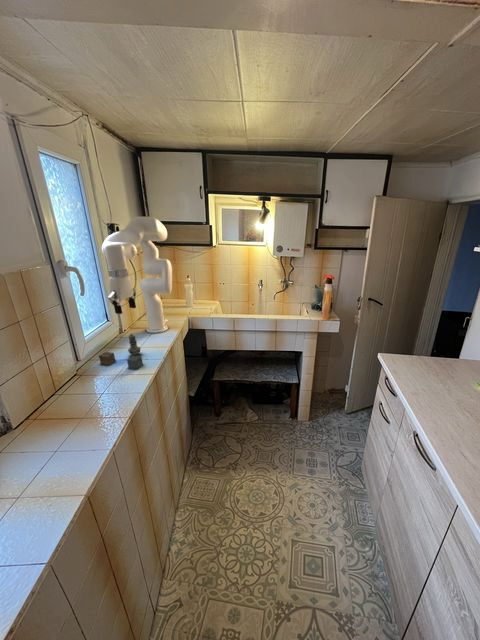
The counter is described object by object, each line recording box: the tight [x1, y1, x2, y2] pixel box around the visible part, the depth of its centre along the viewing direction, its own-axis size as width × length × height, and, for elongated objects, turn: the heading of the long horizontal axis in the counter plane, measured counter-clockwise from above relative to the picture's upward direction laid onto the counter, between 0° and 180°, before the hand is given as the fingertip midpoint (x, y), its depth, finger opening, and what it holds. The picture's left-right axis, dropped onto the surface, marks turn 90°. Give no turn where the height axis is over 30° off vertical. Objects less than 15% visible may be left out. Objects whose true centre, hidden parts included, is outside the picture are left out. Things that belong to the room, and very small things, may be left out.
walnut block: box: [98, 351, 116, 366], centre depth 132 cm, size 4×4×4 cm
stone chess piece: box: [127, 333, 142, 358], centre depth 138 cm, size 6×6×12 cm
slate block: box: [126, 355, 144, 370], centre depth 129 cm, size 4×4×4 cm
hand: (126, 310), depth 132 cm, fingers open, 9 cm apart
